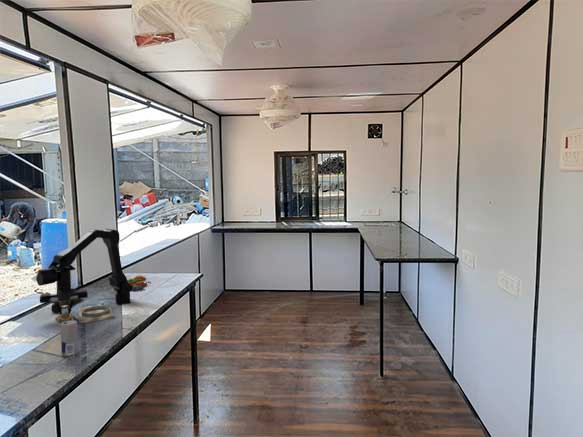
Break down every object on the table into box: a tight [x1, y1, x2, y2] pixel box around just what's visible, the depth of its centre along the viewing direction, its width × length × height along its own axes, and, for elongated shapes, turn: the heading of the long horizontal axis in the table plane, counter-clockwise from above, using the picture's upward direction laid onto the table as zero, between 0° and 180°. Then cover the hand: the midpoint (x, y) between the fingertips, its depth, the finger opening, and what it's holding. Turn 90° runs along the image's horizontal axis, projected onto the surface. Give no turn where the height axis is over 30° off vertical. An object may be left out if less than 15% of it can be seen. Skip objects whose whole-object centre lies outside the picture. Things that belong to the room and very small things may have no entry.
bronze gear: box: [54, 305, 76, 323], centre depth 178 cm, size 8×8×6 cm
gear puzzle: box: [114, 275, 152, 293], centre depth 238 cm, size 31×16×4 cm, turn 7°
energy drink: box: [60, 319, 79, 357], centre depth 143 cm, size 5×5×12 cm
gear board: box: [77, 301, 115, 324], centre depth 185 cm, size 14×20×3 cm
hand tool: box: [50, 290, 82, 314], centre depth 197 cm, size 23×5×6 cm, turn 179°
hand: (65, 314), depth 178 cm, fingers closed on bronze gear, 3 cm apart
